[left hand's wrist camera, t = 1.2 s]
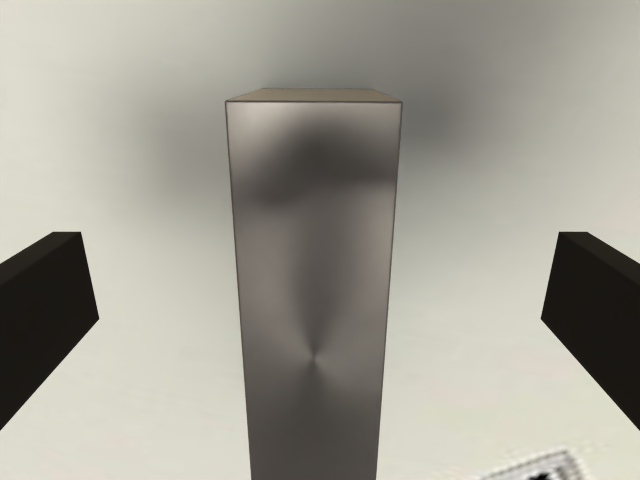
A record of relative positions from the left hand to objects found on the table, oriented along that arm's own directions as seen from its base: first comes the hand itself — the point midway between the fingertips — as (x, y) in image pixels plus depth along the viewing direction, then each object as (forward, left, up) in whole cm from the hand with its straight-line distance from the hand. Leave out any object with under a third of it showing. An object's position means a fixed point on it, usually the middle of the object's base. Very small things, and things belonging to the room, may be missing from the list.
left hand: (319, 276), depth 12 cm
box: (+3, +5, -15) cm, 16 cm away
